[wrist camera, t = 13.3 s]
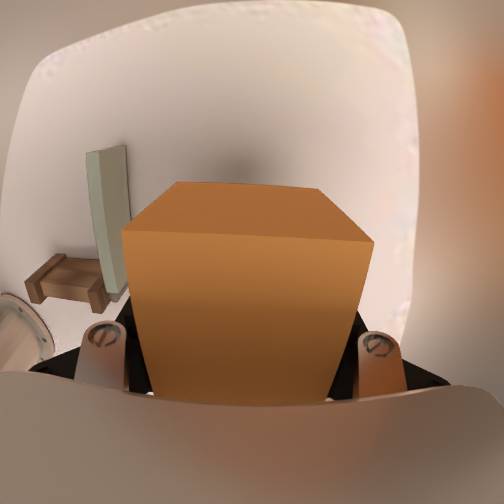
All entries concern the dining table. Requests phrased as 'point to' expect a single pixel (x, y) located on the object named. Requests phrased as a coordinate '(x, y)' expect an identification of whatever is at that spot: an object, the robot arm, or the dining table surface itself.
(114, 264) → the door
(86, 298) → the wall frame
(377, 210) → the dining table surface
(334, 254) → the orange rectangular block
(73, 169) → the dining table surface
